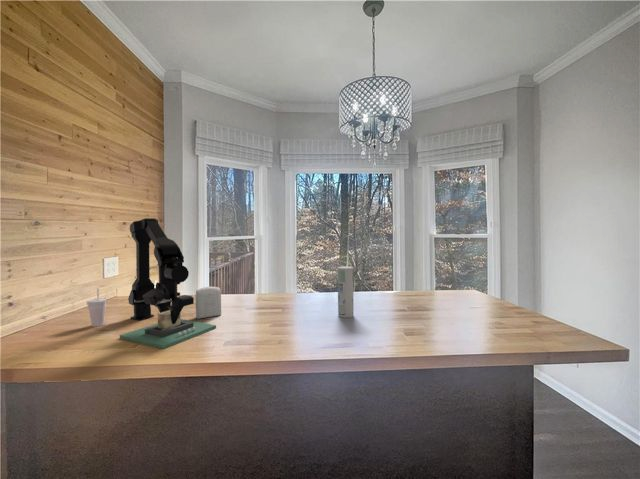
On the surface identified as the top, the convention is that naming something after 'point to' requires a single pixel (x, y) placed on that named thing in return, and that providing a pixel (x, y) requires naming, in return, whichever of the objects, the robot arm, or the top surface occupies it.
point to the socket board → (167, 334)
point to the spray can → (345, 291)
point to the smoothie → (97, 310)
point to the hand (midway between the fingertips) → (169, 323)
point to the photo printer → (208, 302)
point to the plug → (167, 320)
